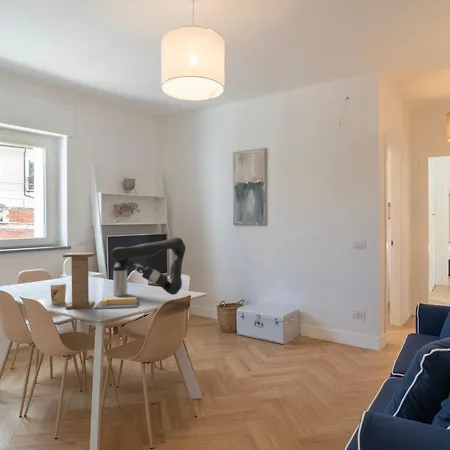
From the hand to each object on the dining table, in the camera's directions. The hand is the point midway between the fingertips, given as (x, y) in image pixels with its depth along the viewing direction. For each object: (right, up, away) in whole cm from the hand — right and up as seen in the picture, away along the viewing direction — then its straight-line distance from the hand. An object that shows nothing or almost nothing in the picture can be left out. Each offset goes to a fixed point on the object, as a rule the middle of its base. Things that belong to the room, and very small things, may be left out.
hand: (128, 262), depth 241 cm
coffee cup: (-46, -26, +6) cm, 53 cm away
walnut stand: (-28, -26, -4) cm, 38 cm away
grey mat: (-6, -26, -1) cm, 27 cm away
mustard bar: (-5, -25, -1) cm, 26 cm away
